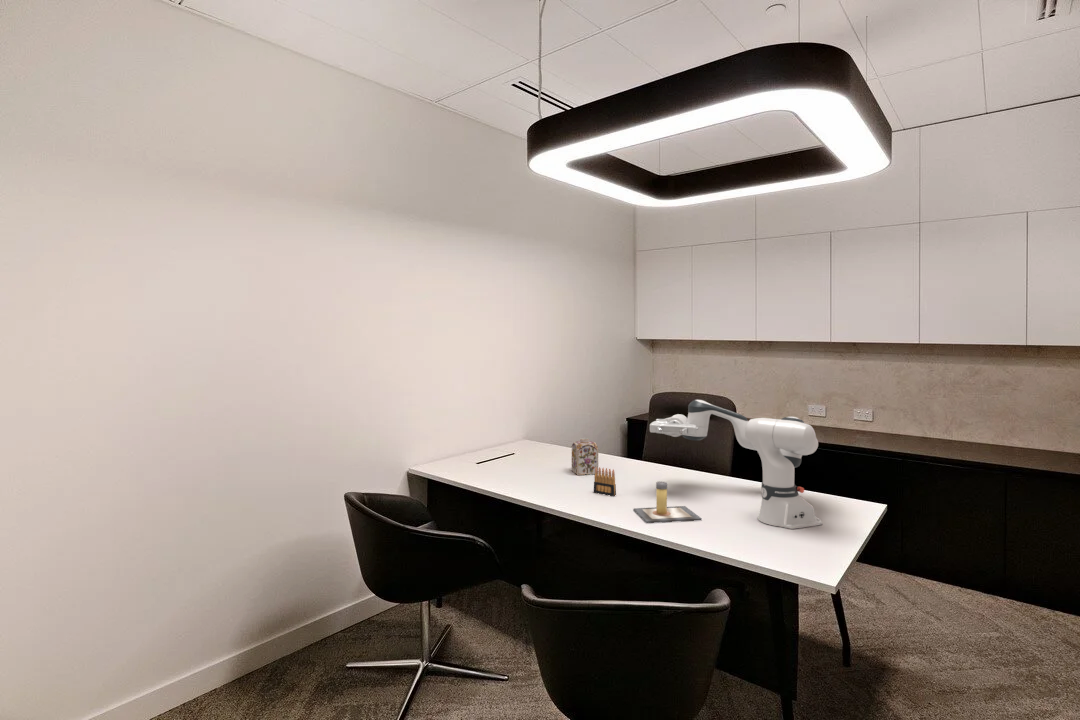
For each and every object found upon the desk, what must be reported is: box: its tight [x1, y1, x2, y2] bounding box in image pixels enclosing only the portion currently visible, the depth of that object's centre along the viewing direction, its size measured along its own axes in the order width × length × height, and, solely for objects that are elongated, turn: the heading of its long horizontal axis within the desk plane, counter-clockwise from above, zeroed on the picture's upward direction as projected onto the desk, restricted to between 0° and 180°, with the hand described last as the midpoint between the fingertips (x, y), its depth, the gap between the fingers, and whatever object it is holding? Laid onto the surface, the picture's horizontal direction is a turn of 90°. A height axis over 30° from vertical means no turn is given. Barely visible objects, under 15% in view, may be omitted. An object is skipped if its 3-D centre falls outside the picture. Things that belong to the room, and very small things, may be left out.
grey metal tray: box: [632, 505, 702, 524], centre depth 218 cm, size 22×16×1 cm
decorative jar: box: [571, 437, 599, 476], centre depth 288 cm, size 12×12×18 cm
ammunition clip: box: [593, 466, 617, 497], centre depth 248 cm, size 11×2×12 cm, turn 53°
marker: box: [655, 481, 668, 515], centre depth 217 cm, size 4×4×12 cm
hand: (670, 431), depth 237 cm, fingers open, 8 cm apart
